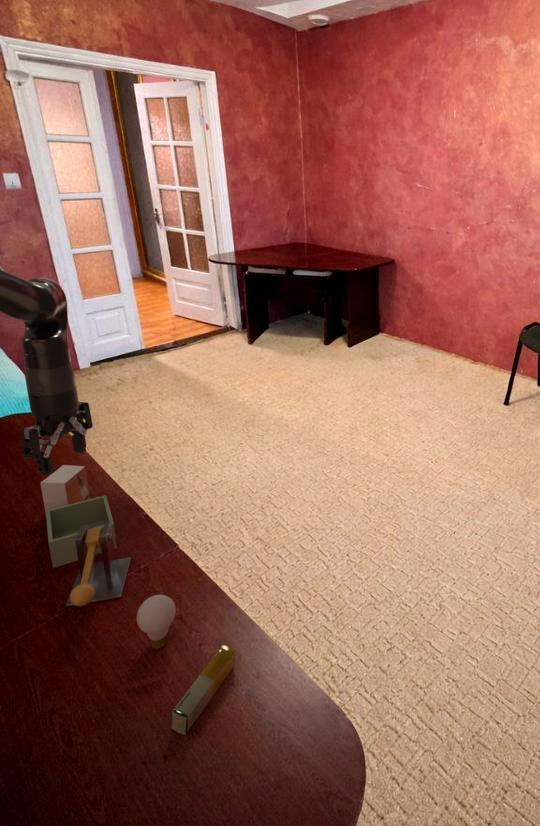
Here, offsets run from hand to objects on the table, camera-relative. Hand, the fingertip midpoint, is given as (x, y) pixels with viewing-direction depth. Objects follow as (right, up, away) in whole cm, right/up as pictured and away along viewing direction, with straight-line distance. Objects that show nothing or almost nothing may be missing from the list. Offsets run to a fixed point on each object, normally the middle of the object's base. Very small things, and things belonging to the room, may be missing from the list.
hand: (63, 462), depth 95 cm
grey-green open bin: (-3, -20, +11) cm, 23 cm away
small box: (-13, -16, +20) cm, 29 cm away
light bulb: (+25, -30, -12) cm, 40 cm away
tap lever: (+9, -19, -7) cm, 22 cm away
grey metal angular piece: (+7, -24, 0) cm, 25 cm away
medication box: (+36, -33, -19) cm, 53 cm away
